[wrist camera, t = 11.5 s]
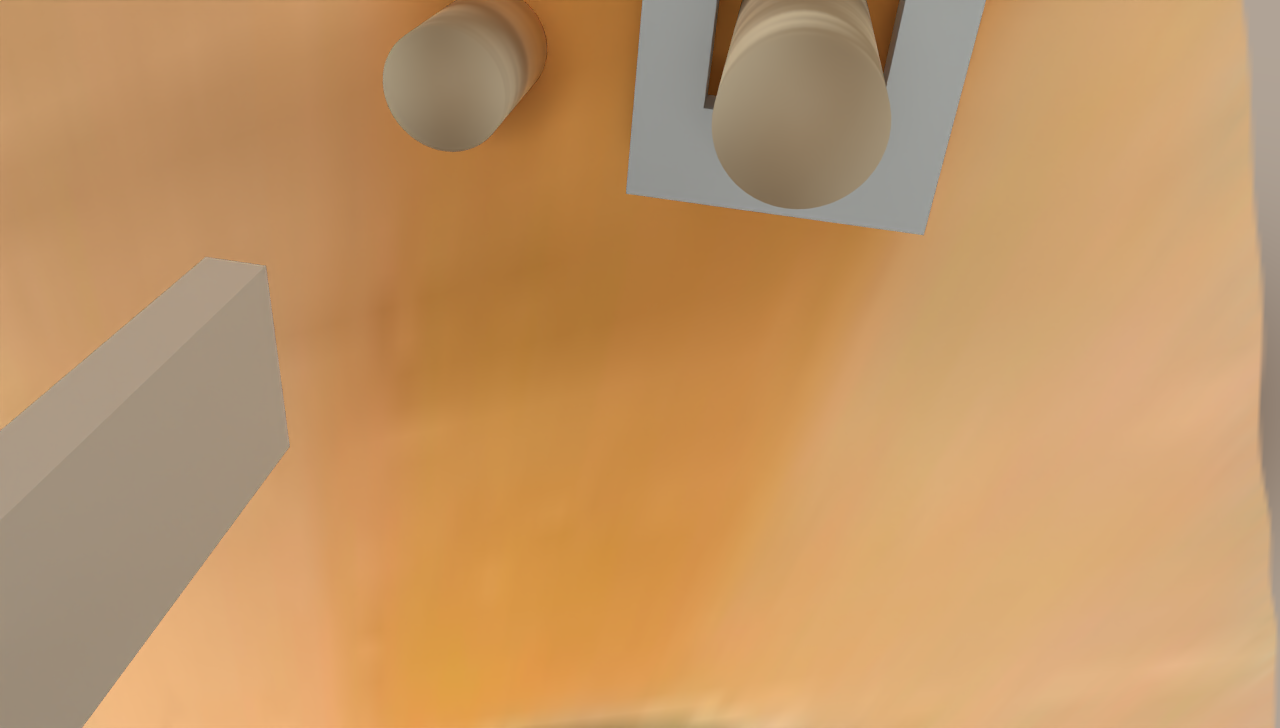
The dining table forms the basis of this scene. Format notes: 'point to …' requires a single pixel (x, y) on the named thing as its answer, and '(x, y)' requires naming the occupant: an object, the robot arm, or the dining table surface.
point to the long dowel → (801, 102)
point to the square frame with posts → (682, 109)
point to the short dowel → (464, 71)
